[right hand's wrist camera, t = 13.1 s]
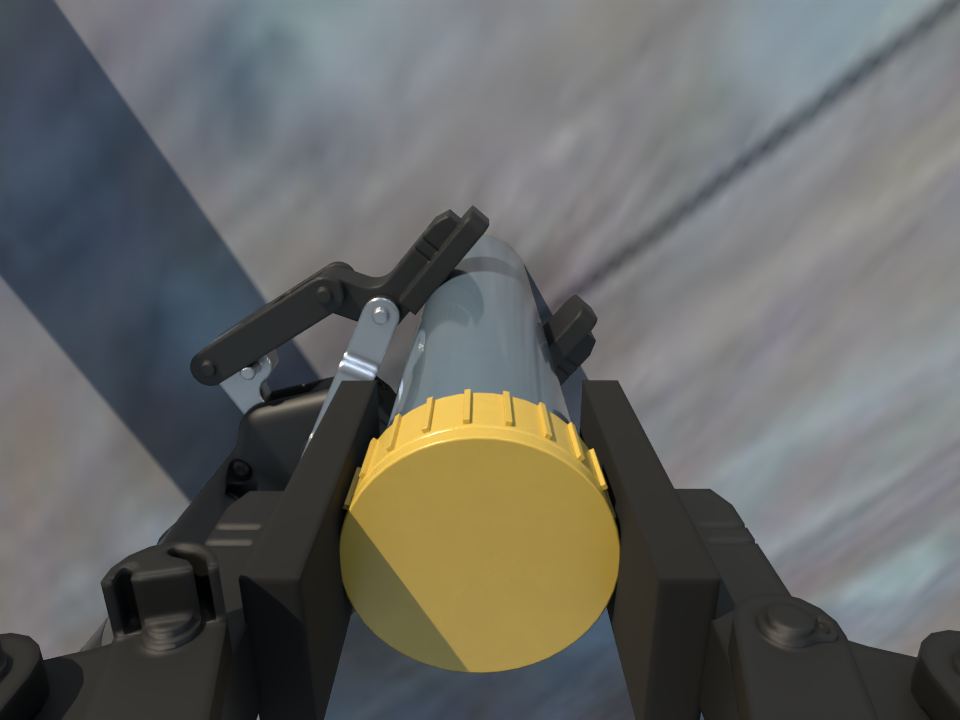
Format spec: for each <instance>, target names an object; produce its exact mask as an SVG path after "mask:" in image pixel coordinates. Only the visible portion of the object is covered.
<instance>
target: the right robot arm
mask: <svg viewBox="0 0 960 720" xmlns="http://www.w3.org/2000/svg"><path fill="white" fill-rule="evenodd" d="M379 437H380V427H379V410H378V393H377V380H342V381H341V383H340V385H339V387H338V389H337V391H336V393H335V395H334V396H333V398H332V400H331V402H330V404H329V406H328V408H327V410H326V412H325V414H324V416H323V418H322V419H321V421H320V423H319V425H318V427H317V429H316V431H315V433H314V435H313V437H312V439H311V440H310V442H309V444H308V446H307V448H306V450H305V452H304V454H303V456H302V458H301V460H300V462H299V463H298V465H297V467H296V469H295V471H294V473H293V475H292V477H291V479H290V481H289V483H288V485H287V486H286V488H285V490H284V491H249V492H248V493H246V494H245V495H244V496H242V497H241V498H240V499H238V500H237V501H235V502H234V503H233V504H231V505H230V506H229V507H227V509H226V510H225V512H224V514H223V515H222V517H221V518H220V520H219V521H218V523H217V524H216V526H215V530H213V531H212V532H211V534H210V535H209V537H208V538H207V540H206V541H205V545H202V544H198V543H195V542H169V543H165V544H160V545H156V546H151V547H148V548H146V549H143V550H141V551H139V552H137V553H134V554H132V555H130V556H128V557H126V558H125V559H124V560H122V561H121V562H119V563H118V564H116V565H115V566H114V567H112V568H111V569H110V570H109V572H108V573H107V574H106V576H105V577H104V578H103V580H102V581H101V586H102V590H103V594H104V598H105V603H106V607H107V611H108V615H109V619H110V624H111V628H112V632H113V636H114V638H113V641H112V643H111V644H107V645H104V646H101V647H97V648H94V649H90V650H86V651H82V652H77V653H73V654H69V655H64V656H60V657H55V658H51V659H47V660H43V658H42V654H41V651H40V647H39V645H38V644H37V643H36V642H35V641H34V640H33V639H32V638H31V637H29V636H25V635H20V634H14V633H7V634H0V720H256V719H257V716H258V714H259V718H260V720H324V717H325V713H326V709H327V705H328V702H329V698H330V694H331V690H332V686H333V682H334V678H335V674H336V671H337V667H338V663H339V659H340V655H341V651H342V647H343V643H344V640H345V636H346V632H347V628H348V624H349V620H350V616H351V612H352V609H353V606H352V604H351V602H350V600H349V598H348V596H347V594H346V591H345V588H344V585H343V583H342V575H341V564H340V552H339V539H340V533H341V529H342V526H343V522H344V519H345V516H346V513H347V510H346V509H343V506H344V503H345V500H346V497H347V494H348V492H349V489H350V486H351V483H352V480H353V477H354V474H355V472H356V469H357V467H360V468H362V465H363V462H364V459H365V456H366V453H367V450H368V447H369V444H370V441H371V440H372V439H373V438H375V439H377V440H378V439H379ZM580 438H581V439H582V441H583V442H584V443H585V445H586V446H587V447H588V449H589V450H591V449H594V450H595V452H596V454H597V457H598V460H599V463H600V466H601V469H602V472H603V475H604V478H605V481H606V483H607V486H608V489H607V491H608V494H609V497H610V500H611V503H612V506H613V509H614V512H615V515H616V524H617V527H618V532H619V537H620V559H619V571H618V580H617V583H616V587H615V590H614V592H613V594H612V597H611V599H610V601H609V603H608V605H607V610H608V614H609V618H610V622H611V626H612V629H613V633H614V637H615V641H616V645H617V649H618V653H619V657H620V660H621V664H622V668H623V672H624V676H625V680H626V684H627V687H628V691H629V695H630V699H631V703H632V707H633V711H634V715H635V718H636V720H700V715H701V712H702V714H703V717H704V720H960V631H952V630H947V631H941V632H935V633H931V634H930V635H929V636H928V637H927V638H925V639H924V640H923V641H922V642H921V646H920V649H919V653H918V656H917V657H912V656H908V655H904V654H899V653H895V652H890V651H886V650H882V649H877V648H873V647H868V646H865V645H862V644H858V643H855V642H852V641H849V640H848V639H847V637H846V635H845V634H844V632H843V631H842V629H841V628H840V626H839V625H838V623H837V622H836V621H835V620H834V619H833V618H831V617H830V616H829V615H828V614H826V613H825V612H824V611H823V610H821V609H820V608H818V607H816V606H814V605H812V604H810V603H808V602H806V601H804V600H802V599H800V598H796V597H792V596H791V595H790V593H789V592H788V590H787V588H786V587H785V585H784V584H783V582H782V581H781V579H780V578H779V576H778V575H777V573H776V572H775V570H774V568H773V567H772V565H771V564H770V562H769V561H768V559H767V558H766V556H765V555H764V553H763V552H762V550H761V548H760V547H759V545H758V544H755V539H754V538H753V536H752V535H751V533H750V532H749V530H748V528H745V526H744V525H745V524H744V522H743V521H742V519H741V518H740V516H739V515H738V513H737V512H736V510H735V508H734V507H733V505H731V504H730V503H729V502H727V501H726V500H725V499H723V498H722V497H720V496H719V495H718V494H716V493H715V492H714V491H712V490H711V489H674V487H673V485H672V483H671V481H670V480H669V478H668V476H667V474H666V472H665V470H664V468H663V466H662V464H661V462H660V460H659V458H658V457H657V455H656V453H655V451H654V449H653V447H652V445H651V443H650V441H649V439H648V437H647V436H646V434H645V432H644V430H643V428H642V426H641V424H640V422H639V420H638V418H637V416H636V414H635V413H634V411H633V409H632V407H631V405H630V403H629V401H628V399H627V397H626V395H625V393H624V391H623V390H622V388H621V386H620V384H619V382H618V380H583V386H582V403H581V421H580Z"/></svg>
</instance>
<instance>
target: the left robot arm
mask: <svg viewBox="0 0 960 720" xmlns="http://www.w3.org/2000/svg"><path fill="white" fill-rule="evenodd" d="M488 226H489V219H488V218H487V217H486V216H485V215H484V214H482V213H481V212H480V211H479V210H478V209H477V208H475V207H474V206H472V207H471V208H470V209H469V210H468V211H467V212H466V213H465V214H464V216H463V217H462V218H460V217H459V216H457V215H456V214H455V213H454V212H453V211H451V210H448V211H446V212H444V213H442V214H441V215H439V216H437V217H436V218H435V219H434V220H433V221H432V223H431V224H430V225H429V226H428V227H427V229H426V230H425V231H424V232H423V234H422V235H421V236H420V237H419V239H418V240H417V241H416V242H415V243H414V245H413V246H412V247H411V248H410V250H409V251H408V252H407V253H406V255H405V256H404V257H403V258H402V260H401V261H400V262H399V263H398V264H397V266H396V267H395V268H394V269H393V270H392V271H391V272H390V273H389V274H387V275H385V276H383V277H370V276H366V275H364V274H361V273H358V272H355V271H354V270H353V269H352V267H351V266H349V265H348V264H346V263H344V262H333V263H331V264H329V265H327V266H326V267H324V268H323V269H321V270H320V271H318V272H316V273H315V274H313V275H312V276H310V277H309V278H307V279H306V280H304V281H302V282H301V283H299V284H298V285H296V286H295V287H293V288H292V289H290V290H288V291H287V292H285V293H284V294H282V295H281V296H279V297H278V298H276V299H274V300H273V301H271V302H270V303H268V304H267V305H265V306H263V307H262V308H260V309H259V310H257V311H256V312H254V313H253V314H251V315H249V316H248V317H246V318H245V319H243V320H242V321H240V322H239V323H237V324H235V325H234V326H232V327H231V328H229V329H228V330H226V331H225V332H223V333H222V334H221V335H219V336H218V337H217V338H216V339H215V340H213V341H212V342H211V343H210V344H208V345H207V346H206V347H205V348H204V349H203V350H201V351H200V352H199V353H198V354H197V355H195V356H194V358H193V359H192V361H191V365H190V369H191V372H192V375H193V376H194V378H195V379H196V380H197V381H199V382H200V383H202V384H204V385H209V386H214V385H218V384H219V385H220V386H221V387H222V388H223V389H224V391H225V392H226V393H227V394H228V396H229V397H230V398H231V399H232V401H233V402H234V403H235V404H236V405H237V407H238V408H239V409H240V410H241V412H242V413H243V414H244V416H243V418H242V420H241V423H240V427H239V439H238V443H237V446H236V448H235V449H234V450H233V452H232V453H231V454H230V455H229V457H228V458H227V459H226V460H225V462H224V463H223V464H222V465H221V467H220V468H219V469H218V470H217V472H216V473H215V474H214V475H213V477H212V478H211V479H210V480H209V482H208V483H207V484H206V485H205V486H204V488H203V489H202V490H201V491H200V493H199V494H198V495H197V496H196V498H195V499H194V500H193V501H192V503H191V504H190V505H189V506H188V508H187V509H186V510H185V511H184V513H183V514H182V515H181V516H180V518H179V519H178V520H177V522H176V523H175V524H174V525H173V526H171V527H170V528H169V529H168V530H167V531H166V532H165V533H164V534H163V535H162V536H161V537H160V539H159V540H158V543H157V545H160V544H165V543H169V542H195V543H198V544H202V545H205V541H206V540H207V538H208V537H209V535H210V534H211V532H212V531H213V530H215V526H216V524H217V523H218V521H219V520H220V518H221V517H222V515H223V514H224V512H225V510H226V509H227V507H229V506H230V505H231V504H233V503H234V502H235V501H237V500H238V499H240V498H241V497H242V496H244V495H245V494H246V493H248V492H249V491H284V490H285V488H286V486H287V485H288V483H289V481H290V479H291V477H292V475H293V473H294V471H295V469H296V467H297V465H298V463H299V462H300V460H301V458H302V456H303V454H304V452H305V450H306V448H307V446H308V444H309V442H310V440H311V439H312V437H313V435H314V433H315V431H316V429H317V427H318V425H319V423H320V421H321V419H322V418H323V416H324V414H325V412H326V410H327V408H328V406H329V404H330V402H331V400H332V398H333V396H334V395H335V393H336V391H337V389H338V387H339V385H340V383H341V381H342V380H377V393H378V410H379V427H380V436H381V435H382V434H383V433H384V432H385V430H386V428H387V424H388V421H389V418H390V414H391V411H392V408H393V404H394V401H395V398H396V393H395V392H394V391H393V390H392V388H391V387H390V386H389V385H388V384H386V383H385V382H384V381H382V380H381V379H380V378H378V377H377V376H376V374H377V371H378V369H379V366H380V364H381V362H382V359H383V357H384V355H385V353H386V350H387V348H388V346H389V343H390V341H391V339H392V336H393V334H394V332H395V329H396V327H397V325H398V324H399V323H400V322H401V321H402V320H403V318H404V317H405V316H406V315H407V314H408V312H409V311H411V312H412V313H413V314H415V315H416V314H417V312H418V311H419V310H420V309H421V308H422V306H423V305H424V304H425V303H426V302H427V300H428V299H429V298H430V296H431V295H432V294H433V293H434V292H435V291H436V290H437V289H438V287H439V286H440V285H441V284H442V283H443V282H444V280H445V279H446V278H447V277H448V276H449V274H450V273H451V272H452V271H453V270H454V268H455V267H456V266H457V265H458V264H459V263H460V261H461V260H462V259H463V258H464V257H465V255H466V254H467V253H468V252H469V251H470V249H471V248H472V247H473V246H474V245H475V244H476V242H477V241H478V240H479V239H480V238H481V236H482V235H483V234H484V232H485V231H486V230H487V228H488ZM332 313H334V314H337V315H340V316H343V317H346V318H349V319H352V320H355V321H358V323H357V325H356V328H355V330H354V333H353V335H352V337H351V340H350V342H349V345H348V347H347V350H346V352H345V354H344V356H343V359H342V361H341V363H340V365H339V367H338V370H337V372H336V375H335V377H330V378H326V379H322V380H318V381H313V382H309V383H305V384H300V385H296V386H292V387H288V388H283V389H279V390H275V391H270V389H269V387H268V376H269V375H270V374H271V373H272V372H273V370H274V369H275V368H276V367H277V365H278V362H279V355H278V352H277V350H276V348H277V347H279V346H281V345H282V344H284V343H285V342H287V341H289V340H290V339H292V338H294V337H295V336H297V335H298V334H300V333H302V332H303V331H305V330H306V329H308V328H310V327H311V326H313V325H314V324H316V323H318V322H319V321H321V320H322V319H324V318H326V317H327V316H329V315H330V314H332ZM596 322H597V317H596V315H595V313H594V312H593V310H592V308H591V307H590V306H589V305H588V304H586V303H585V302H584V301H583V300H582V299H581V298H579V297H578V296H577V295H574V296H572V297H571V298H569V299H568V300H567V301H566V302H565V303H564V305H563V306H562V307H561V308H560V309H559V310H558V311H557V312H556V313H555V314H554V315H553V316H552V318H551V319H550V320H549V321H548V322H547V323H546V324H545V325H544V326H543V329H544V332H545V335H546V339H547V342H548V345H549V349H550V352H551V355H552V359H553V362H554V365H555V369H556V372H557V375H558V379H559V382H560V385H562V384H563V383H564V382H565V381H566V380H567V378H568V377H569V376H570V375H571V374H572V373H573V372H574V371H575V370H576V369H577V367H578V366H580V365H581V364H582V363H583V362H584V361H585V360H586V359H587V358H588V357H589V356H590V354H591V351H592V349H593V346H594V344H595V342H596V340H595V338H594V336H593V334H592V332H591V330H592V329H593V327H594V326H595V324H596ZM354 612H355V609H354V608H353V609H352V612H351V615H352V614H353V613H354ZM113 638H114V636H113V632H112V628H111V624H110V619H109V616H108V617H107V618H106V619H105V621H104V622H103V623H102V624H101V626H100V627H99V628H98V629H97V631H96V632H95V633H94V634H93V636H92V637H91V638H90V639H89V640H88V642H87V643H86V644H85V645H84V647H83V648H82V649H81V650H80V651H79V652H82V651H86V650H90V649H94V648H97V647H101V646H104V645H107V644H111V643H112V641H113Z"/></svg>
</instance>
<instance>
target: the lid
mask: <svg viewBox="0 0 960 720" xmlns="http://www.w3.org/2000/svg"><path fill="white" fill-rule="evenodd" d="M607 489H608V486H607V483H606V481H605V478H604V475H603V472H602V469H601V466H600V463H599V460H598V457H597V454H596V452H595V450H594V449H591V450H589V449H588V447H587V446H586V445H585V443H584V442H583V441H582V439H581V438H580V436H579V435H578V434H577V431H576V427H575V425H574V424H573V423H572V422H570V423H569V424H566V423H565V422H564V421H562V420H561V419H560V418H559V417H557V416H556V415H554V414H553V413H551V412H549V411H548V410H546V405H545V404H544V403H542V402H540V403H539V404H538V405H536V404H533V403H531V402H529V401H526V400H523V399H519V398H516V397H512V396H510V393H509V392H508V391H503V395H501V394H494V393H471V389H465V390H464V394H457V395H453V396H448V397H443V398H440V399H437V400H434V398H433V397H430V398H427V402H426V404H424V405H422V406H419V407H417V408H415V409H413V410H411V411H410V412H408V413H407V414H405V415H404V416H401V414H400V413H399V414H398V415H396V416H395V418H394V421H393V424H392V425H391V426H390V427H389V428H388V429H386V430H385V432H384V433H383V434H382V435H381V436H380V437H379V439H378V440H377V439H375V438H373V439H372V440H371V441H370V444H369V447H368V450H367V453H366V456H365V459H364V462H363V465H362V468H360V467H357V469H356V472H355V474H354V477H353V480H352V483H351V486H350V489H349V492H348V494H347V497H346V500H345V503H344V506H343V509H346V510H347V513H346V516H345V519H344V522H343V526H342V529H341V533H340V539H339V552H340V564H341V575H342V583H343V585H344V588H345V591H346V594H347V596H348V598H349V600H350V602H351V604H352V606H353V608H354V609H355V611H356V612H357V614H358V615H359V616H360V618H361V619H362V620H363V622H364V623H365V624H366V625H367V626H368V627H369V628H370V629H371V630H372V631H373V633H374V634H375V635H377V636H378V637H379V638H380V639H382V640H383V641H384V642H385V643H387V644H388V645H389V646H391V647H392V648H394V649H396V650H397V651H399V652H400V653H402V654H404V655H406V656H408V657H410V658H412V659H414V660H417V661H419V662H422V663H425V664H428V665H431V666H434V667H438V668H442V669H446V670H451V671H459V672H468V673H490V672H502V671H507V670H513V669H518V668H522V667H525V666H529V665H532V664H535V663H537V662H540V661H542V660H545V659H547V658H550V657H551V656H553V655H555V654H557V653H559V652H561V651H562V650H564V649H566V648H567V647H568V646H570V645H571V644H573V643H574V642H576V641H577V640H578V639H579V638H580V637H581V636H583V635H584V634H585V633H586V632H587V631H588V630H589V629H590V628H591V627H592V626H593V624H594V623H595V622H596V621H597V620H598V619H599V617H600V616H601V614H602V613H603V611H604V610H605V608H606V607H607V605H608V603H609V601H610V599H611V597H612V594H613V592H614V590H615V587H616V583H617V580H618V571H619V559H620V537H619V532H618V527H617V524H616V515H615V512H614V509H613V506H612V503H611V500H610V497H609V494H608V491H607Z"/></svg>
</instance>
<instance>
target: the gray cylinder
mask: <svg viewBox="0 0 960 720" xmlns="http://www.w3.org/2000/svg"><path fill="white" fill-rule="evenodd" d="M465 389H471V393H494V394H501V395H503V391H508V392H509V393H510V396H512V397H516V398H519V399H523V400H526V401H529V402H531V403H533V404H536V405H538V404H539V403H540V402H542V403H544V404H545V405H546V410H548V411H549V412H551V413H553V414H554V415H556V416H557V417H559V418H560V419H561V420H562V421H564V422H565V423H566V424H569V423H570V422H571V419H570V415H569V412H568V409H567V405H566V402H565V399H564V395H563V392H562V389H561V385H560V382H559V379H558V375H557V372H556V369H555V365H554V362H553V359H552V355H551V352H550V349H549V345H548V342H547V339H546V335H545V332H544V329H543V325H542V322H541V319H540V315H539V312H538V309H537V305H536V302H535V299H534V295H533V292H532V289H531V285H530V282H529V279H528V275H527V272H526V269H525V266H524V263H523V261H522V260H521V258H520V256H519V255H518V253H517V252H516V251H515V250H514V249H513V248H512V247H510V246H509V245H508V244H506V243H505V242H503V241H501V240H499V239H497V238H493V237H489V236H481V238H480V239H479V240H478V241H477V242H476V244H475V245H474V246H473V247H472V248H471V249H470V251H469V252H468V253H467V254H466V255H465V257H464V258H463V259H462V260H461V261H460V263H459V264H458V265H457V266H456V267H455V268H454V270H453V271H452V272H451V273H450V274H449V276H448V277H447V278H446V279H445V280H444V282H443V283H442V284H441V285H440V286H439V287H438V289H437V290H436V291H435V292H434V293H433V294H432V295H431V296H430V298H429V299H428V300H427V302H426V303H425V304H424V305H423V308H422V312H421V315H420V318H419V321H418V325H417V328H416V331H415V335H414V338H413V341H412V345H411V348H410V351H409V355H408V358H407V361H406V365H405V368H404V371H403V375H402V378H401V381H400V385H399V388H398V391H397V394H396V398H395V401H394V404H393V408H392V411H391V414H390V418H389V421H388V424H387V428H386V429H388V428H389V427H390V426H391V425H392V424H393V421H394V418H395V416H396V415H398V414H399V413H400V414H401V416H404V415H405V414H407V413H408V412H410V411H411V410H413V409H415V408H417V407H419V406H422V405H424V404H426V402H427V398H430V397H433V398H434V400H437V399H440V398H443V397H448V396H453V395H457V394H464V390H465Z"/></svg>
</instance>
